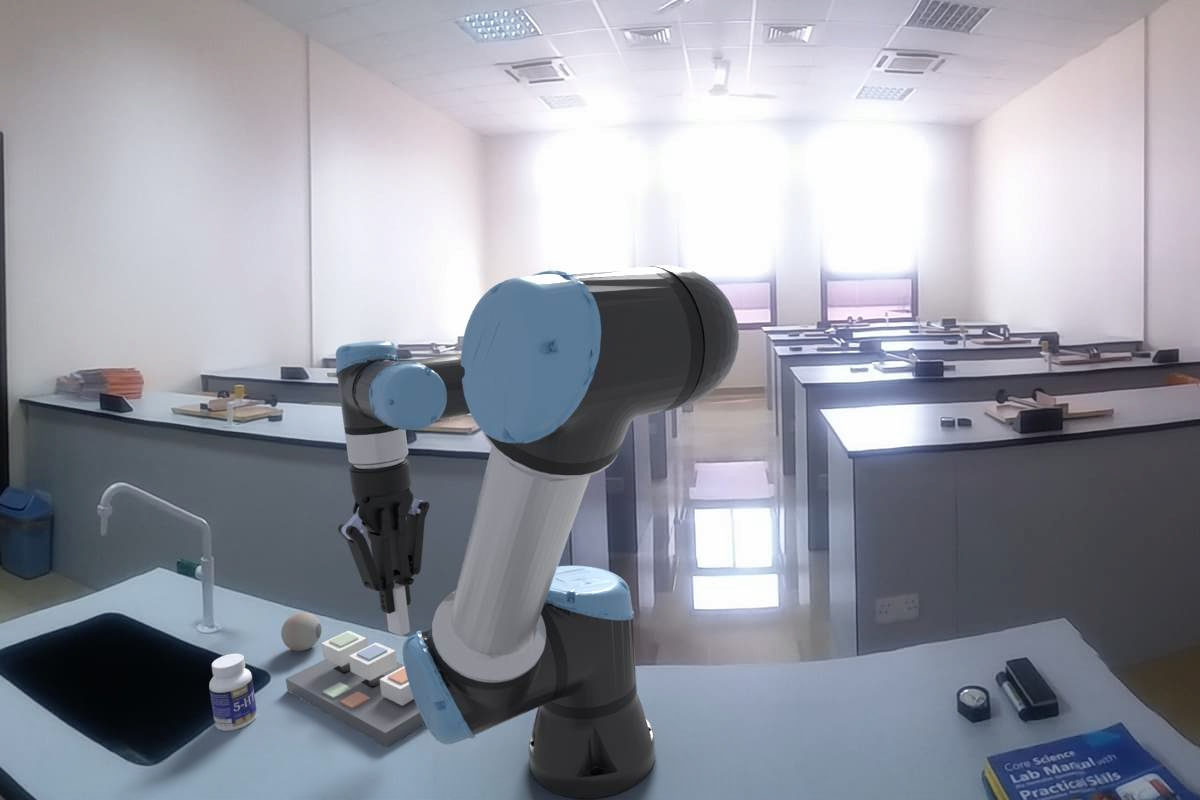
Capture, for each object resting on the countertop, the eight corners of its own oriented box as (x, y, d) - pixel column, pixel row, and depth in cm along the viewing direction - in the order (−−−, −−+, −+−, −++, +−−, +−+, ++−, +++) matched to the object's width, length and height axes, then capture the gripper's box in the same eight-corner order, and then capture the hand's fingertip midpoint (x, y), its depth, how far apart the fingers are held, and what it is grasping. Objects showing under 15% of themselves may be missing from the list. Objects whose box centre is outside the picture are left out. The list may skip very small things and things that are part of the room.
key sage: (369, 665, 114) (366, 636, 114) (342, 679, 111) (338, 649, 110) (352, 657, 117) (348, 628, 116) (325, 670, 114) (321, 641, 113)
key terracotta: (431, 703, 106) (427, 672, 105) (404, 719, 102) (400, 687, 102) (410, 693, 109) (406, 662, 108) (383, 708, 105) (379, 677, 104)
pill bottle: (241, 733, 102) (231, 671, 101) (206, 730, 103) (196, 670, 102) (265, 710, 107) (256, 651, 106) (232, 708, 109) (223, 650, 107)
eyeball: (315, 656, 122) (310, 621, 121) (277, 659, 122) (272, 623, 121) (329, 638, 128) (324, 605, 127) (292, 640, 128) (287, 607, 127)
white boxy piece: (398, 679, 110) (395, 649, 109) (371, 694, 106) (367, 663, 106) (379, 670, 113) (376, 640, 112) (352, 684, 109) (348, 654, 109)
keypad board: (459, 702, 106) (457, 687, 106) (387, 747, 97) (385, 730, 97) (358, 655, 121) (356, 642, 121) (287, 691, 112) (285, 676, 112)
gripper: (402, 447, 107) (420, 607, 111) (317, 470, 97) (340, 644, 101) (437, 452, 102) (454, 618, 106) (351, 476, 92) (374, 659, 96)
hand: (399, 631), depth 103 cm, fingers closed
